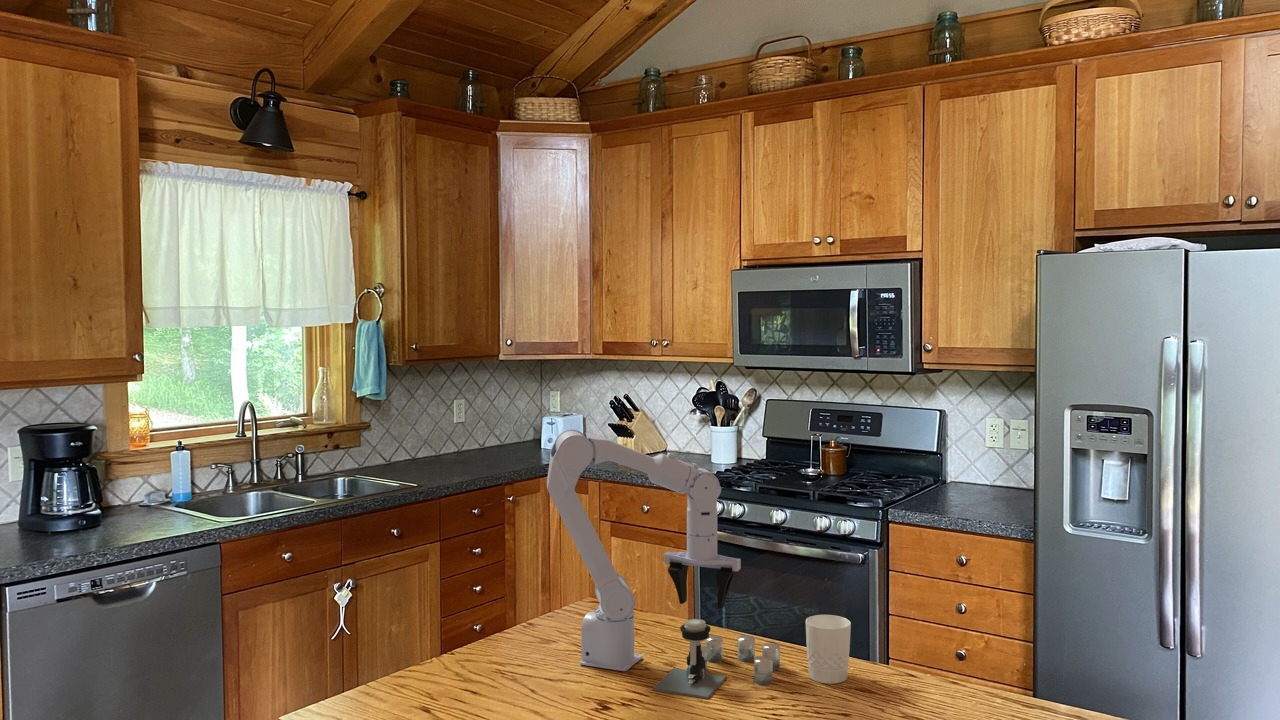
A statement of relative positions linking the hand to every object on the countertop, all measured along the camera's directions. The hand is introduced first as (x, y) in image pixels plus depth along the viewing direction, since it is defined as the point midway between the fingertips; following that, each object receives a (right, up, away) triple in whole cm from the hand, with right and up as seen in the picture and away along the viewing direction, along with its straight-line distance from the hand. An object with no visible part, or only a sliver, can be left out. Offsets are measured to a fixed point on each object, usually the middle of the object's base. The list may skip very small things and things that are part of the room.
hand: (702, 604), depth 179 cm
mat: (-3, -11, -13) cm, 17 cm away
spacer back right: (+12, -10, -5) cm, 17 cm away
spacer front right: (+10, -11, -12) cm, 19 cm away
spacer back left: (+2, -10, -1) cm, 10 cm away
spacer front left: (-1, -10, -6) cm, 12 cm away
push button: (-2, -10, -12) cm, 16 cm away
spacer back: (+8, -10, -1) cm, 13 cm away
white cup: (+22, -11, -10) cm, 26 cm away
